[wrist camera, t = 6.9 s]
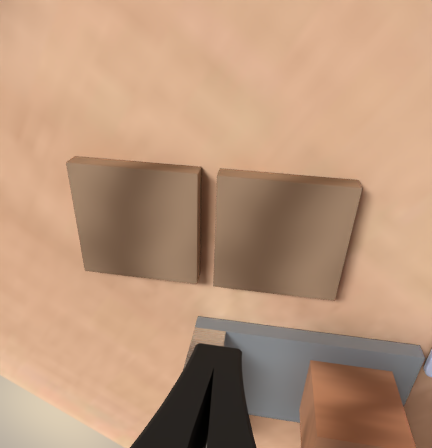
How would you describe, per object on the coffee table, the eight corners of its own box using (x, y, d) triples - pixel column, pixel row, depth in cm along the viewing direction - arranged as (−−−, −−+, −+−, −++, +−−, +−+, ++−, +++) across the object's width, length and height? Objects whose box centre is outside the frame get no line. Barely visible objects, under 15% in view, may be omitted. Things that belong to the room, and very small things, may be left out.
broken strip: (358, 180, 19) (362, 188, 18) (332, 289, 22) (334, 300, 21) (75, 156, 20) (66, 162, 19) (92, 261, 24) (84, 270, 23)
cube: (392, 371, 23) (417, 452, 19) (372, 420, 26) (391, 502, 21) (310, 360, 24) (317, 436, 19) (299, 409, 26) (303, 486, 22)
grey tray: (419, 345, 23) (447, 412, 19) (386, 423, 27) (404, 492, 23) (197, 316, 25) (182, 372, 21) (197, 394, 29) (184, 453, 25)
